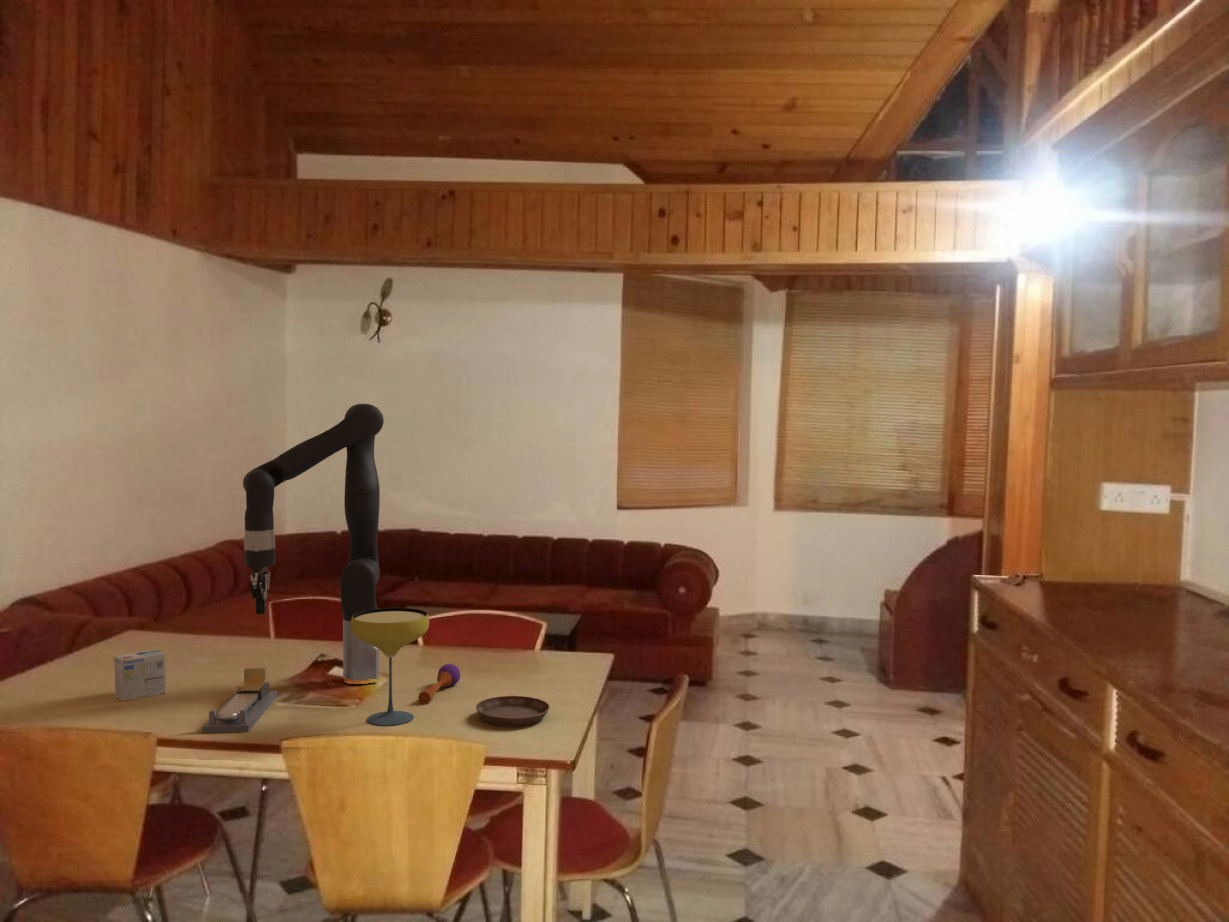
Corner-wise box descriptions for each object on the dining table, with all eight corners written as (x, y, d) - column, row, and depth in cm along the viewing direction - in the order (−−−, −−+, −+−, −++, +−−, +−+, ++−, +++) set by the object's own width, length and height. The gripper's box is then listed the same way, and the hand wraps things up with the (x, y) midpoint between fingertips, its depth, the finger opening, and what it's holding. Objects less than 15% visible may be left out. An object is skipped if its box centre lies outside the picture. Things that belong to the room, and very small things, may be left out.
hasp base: (248, 731, 221) (248, 712, 221) (202, 733, 220) (202, 713, 220) (277, 696, 249) (277, 679, 249) (237, 697, 248) (236, 679, 248)
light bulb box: (157, 688, 255) (156, 648, 255) (166, 694, 250) (166, 652, 250) (113, 696, 248) (113, 654, 247) (122, 702, 243) (122, 659, 242)
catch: (259, 690, 241) (259, 674, 240) (238, 690, 240) (238, 674, 240) (266, 682, 247) (266, 667, 247) (245, 683, 247) (245, 667, 247)
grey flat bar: (238, 720, 222) (238, 714, 222) (215, 721, 221) (215, 714, 221) (258, 698, 240) (258, 692, 239) (237, 699, 239) (237, 692, 239)
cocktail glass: (364, 706, 241) (363, 606, 240) (436, 708, 240) (436, 608, 239) (341, 730, 223) (340, 622, 222) (419, 731, 222) (419, 623, 221)
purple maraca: (411, 687, 244) (440, 662, 264) (416, 710, 245) (445, 683, 264) (432, 685, 243) (461, 659, 263) (437, 707, 244) (465, 680, 263)
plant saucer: (551, 707, 243) (551, 695, 242) (547, 730, 225) (547, 717, 225) (480, 706, 242) (480, 694, 242) (471, 730, 225) (471, 717, 224)
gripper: (251, 543, 256) (252, 609, 257) (237, 550, 243) (239, 619, 244) (280, 543, 257) (281, 608, 258) (268, 550, 244) (270, 618, 245)
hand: (260, 613), depth 251 cm, fingers closed
